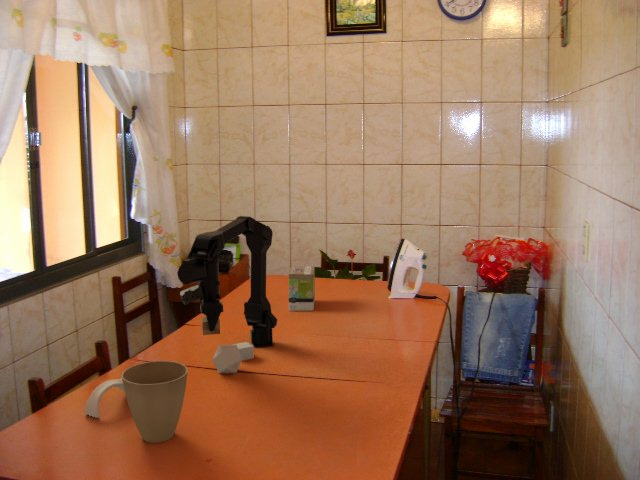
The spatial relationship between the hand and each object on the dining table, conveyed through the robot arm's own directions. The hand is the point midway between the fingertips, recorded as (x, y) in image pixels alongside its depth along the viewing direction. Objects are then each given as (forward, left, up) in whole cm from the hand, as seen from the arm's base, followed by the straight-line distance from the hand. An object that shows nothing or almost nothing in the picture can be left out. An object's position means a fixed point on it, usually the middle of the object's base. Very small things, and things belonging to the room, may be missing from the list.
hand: (211, 328), depth 206 cm
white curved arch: (+25, +18, -13) cm, 33 cm away
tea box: (-41, -60, -12) cm, 74 cm away
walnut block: (0, 0, -1) cm, 1 cm away
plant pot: (+17, +42, -12) cm, 47 cm away
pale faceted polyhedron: (-4, +4, -12) cm, 14 cm away
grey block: (-10, -7, -12) cm, 18 cm away
